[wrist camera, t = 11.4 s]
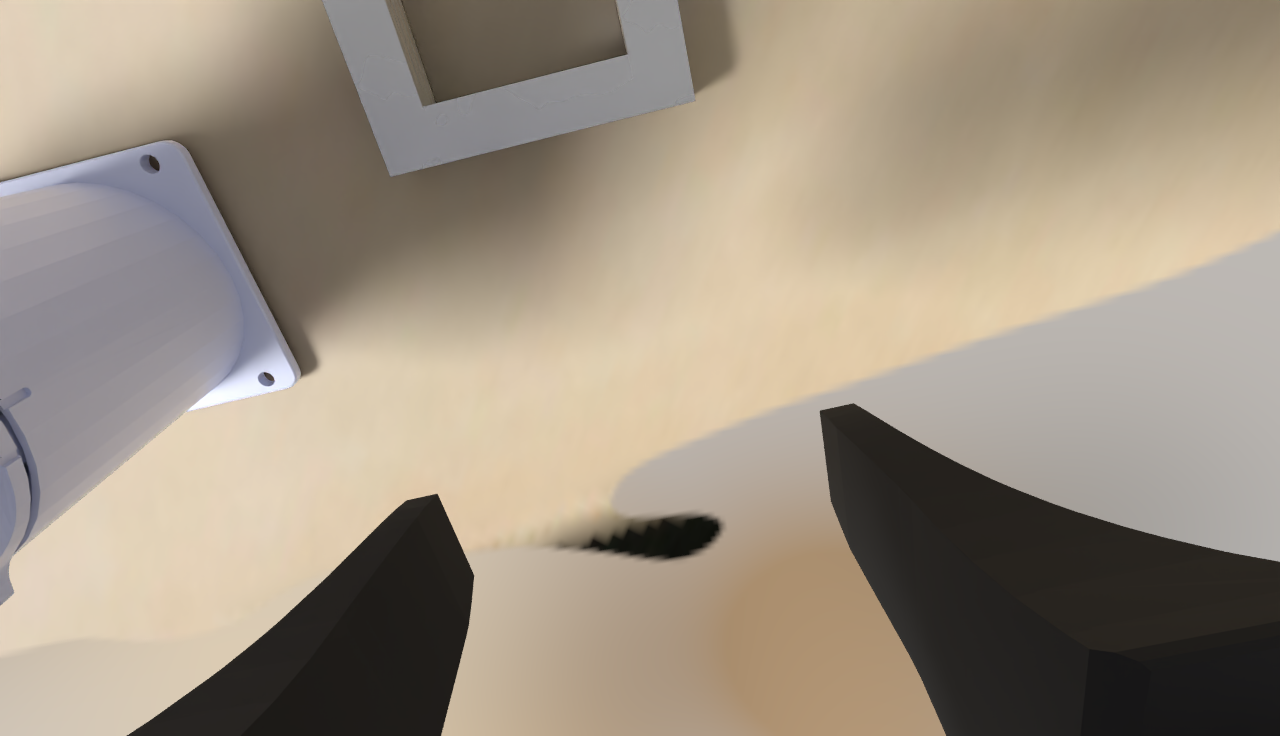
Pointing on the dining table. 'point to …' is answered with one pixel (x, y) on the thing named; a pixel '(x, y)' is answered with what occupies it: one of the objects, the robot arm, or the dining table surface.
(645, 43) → the socket collar
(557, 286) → the dining table surface
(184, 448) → the dining table surface
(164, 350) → the robot arm
